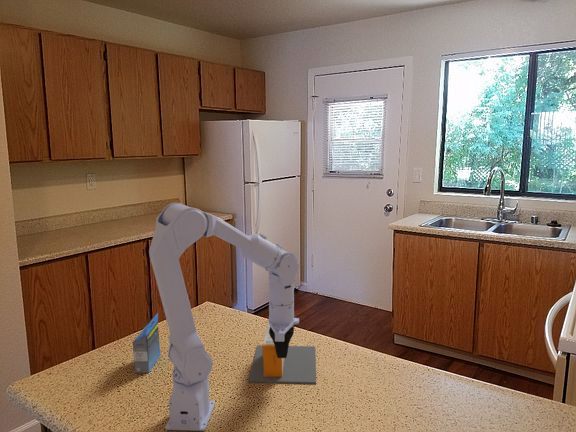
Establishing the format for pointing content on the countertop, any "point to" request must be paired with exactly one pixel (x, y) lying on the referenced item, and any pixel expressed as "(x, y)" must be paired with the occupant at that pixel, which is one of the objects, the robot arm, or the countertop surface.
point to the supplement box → (271, 357)
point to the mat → (288, 366)
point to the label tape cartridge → (147, 347)
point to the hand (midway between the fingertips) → (282, 356)
